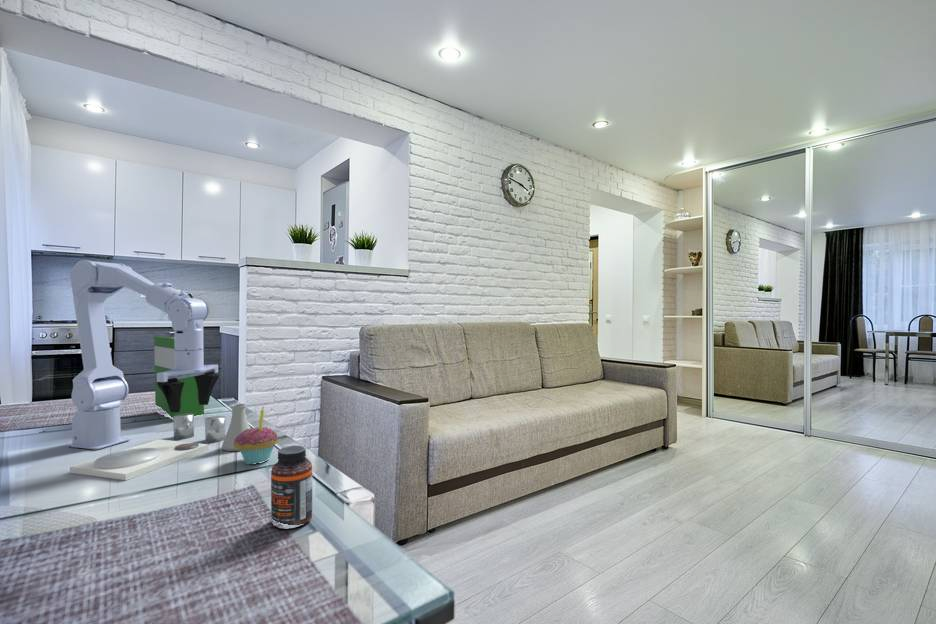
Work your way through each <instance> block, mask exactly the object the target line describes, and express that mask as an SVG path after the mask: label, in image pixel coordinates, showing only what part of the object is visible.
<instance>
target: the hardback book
mask: <svg viewBox="0 0 936 624" xmlns="http://www.w3.org/2000/svg"><path fill="white" fill-rule="evenodd" d="M153 338H154V339H153V341H154V342H153V343H154V351H153V352H154V397H155V398H154V399H155V402H154V403H155V404H154V406H155V405H157V406H159V407H161V408H162V409H163V410H164V411H166V412H167V413H168V414H169V415H170V416H171V417H173V416H175V415H179V414H187V413H191V414H194V416H196V415H201V414H204V415H205V405H199V401H198V388H197V384H196V380H195V378H194V376H192V377H187V378H181V379H177V381H178V380H179V382H184V386H183V389H182V393H181V408H180V412H170V409H169V406H168V403H167V400H166V398H165V396H164V394H163V392H162V391H161V389H160V388H159V387H158V385H157V373H160V372H165V371H169V370H173V369H175V343H174V336H173V337H168V336H160V335H158V336H157V335H154V337H153ZM193 374H195V373H193ZM185 375H189V374H185Z"/></svg>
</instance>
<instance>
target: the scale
mask: <svg viewBox="0 0 936 624" xmlns="http://www.w3.org/2000/svg"><path fill="white" fill-rule="evenodd" d="M208 450H209V443H199V442H188V441H187V442H186V441H181V440H179V441H178V440H170V439H169V440H168V439H160V438H159V439H155V440H152V441H148V442H146V443H143V444H139V445H136V446H132V447H129V448H126V449H123V450H119V451H115V452H112V453H108V454H105V455H103V456H100V457H97V458H94V459H90V460H87V461H84V462H81V463H77V464H74V465H71V466H69V473H71V474H77V475H83V476H84V475H85V476H92V477H97V478H98V477H99V478H106V479H112V480H120V481H128V480H131V479H135V478H136V477H140V476H141V475H144V474H147V473H149V472H152V471H156V470H157V469H160V468H162V467H166V466H168V465H171V464H174V463H176V462H178V461H181V460H184V459H187V458H189V457H192V456H195V455H197V454H200V453H204V452H205V451H208Z"/></svg>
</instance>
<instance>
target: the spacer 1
mask: <svg viewBox="0 0 936 624" xmlns="http://www.w3.org/2000/svg"><path fill="white" fill-rule="evenodd" d="M172 421H173V423H172V424H173V426H172V427H173V439H174V440H175V441H178V440H179V441H181V440H186V439H191V438H194V437H195V419H194V414H191V413H187V414H179V415H175V416H173V420H172Z"/></svg>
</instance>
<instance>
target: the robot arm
mask: <svg viewBox="0 0 936 624" xmlns="http://www.w3.org/2000/svg"><path fill="white" fill-rule="evenodd" d="M69 276H70V284H71V290H72V296H73V299H72V300H73V305H74V311H75V312H74V313H75V320H76V325H77V331H78V333H77V334H78V337H79V338H78V339H79V340H78V341H79V344H80V345H79V346H80V352H81V359H82V366H83V370H82V371H81V372H80V373H78V374H77V375H76V376H74V378H73V379H72V391H71V395H70V396H71V401H72V403H73V405H74V406H75V407H76V408H77V409H78V410H76V411H75V412H74V414H73V416H72V418H71V419H72V420H71V441H72V442H71V443H69V444H67V447H69V446H71V447H70V448H80V449H87V450H93V451H94V450H102V449H104V448H107V447H111V446H115V445H117V444H121V443H124V442H127V441H130V440H131V438H130V437H122V435H121V434H122V433H121V430H122V429H121V428H122V427H121V405H123V404H124V401H125V400H126V399H127V397H128V395H129V390H130V389H129V384H128V382H127V381H126V379H125V376H124V372H123V371H122V369H119V368H117V367H116V366H114V365H113V359H112V351H111V347H110V339H109V334H108V333H109V332H108V325H107V320H106V313H105V305H104V304H105V303H104V302H106V300H107V299H108V298H110V297H112V296H114V295H115V294H116V293H118V292H119V291H121V290H122V289H123V288H127V289H130V290H131V291H133V292H135V293H138V294H141V296H145V301H146V303H147V304H149V305H150V306H152V307H153V308H156V309H158V310H159V311H161V312H163V313H166V314H167V316H168V318H169V320H170V321H171V328H172V329H173V330H174V331H173V332H174V333H173V334H174V336H173V337H174V343H175V369H173V370H169V371H165V372H160V373H157V385H158V387H159V388H160V389H161V391H162V392H163V394H164V396H165V398H166V400H167V403H168V406H169V409H170V412H180V408H181V393H182V389H183V386H184V382H179V380H178V381H177V379H181V378H187V377H192V376H194V378H195V380H196V384H197V388H198V401H199V405H204V406H208V405H209V402H210V399H211V394H212V392H213V389H214V386H215V385H216V382H217V381H218V380H219V376H220V375H219V365H218V364H204V363H205V362H204V361H205V360H204V358H205V357H204V356H205V355H204V353H205V352H204V321H205V320H206V319H207V318H208V316H209V314H210V308H209V305H208V302H206V300H204V299H203V298H202V297H197V296H196V297H191V296H189V293H187V292H186V291H179V290H178V289H176V288H174V287H173V283H170V282H158V283H157V282H156V283H154V282H152V281H151V280H149V279H148V278H146V277H145V276H143V275H141V274H140V273H138V272H136V271H134V270H133V268H132V267H131V266H127V265H126V264H124V263H121V262H115V263H113V262H103V261H93V260H88V259H81V260H79V261H77V262H76V263H75V264H74V266H73V267H72V268H71V269H70V271H69ZM193 373H195V374H193ZM185 374H189V375H185ZM97 379H100V380H97Z"/></svg>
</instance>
